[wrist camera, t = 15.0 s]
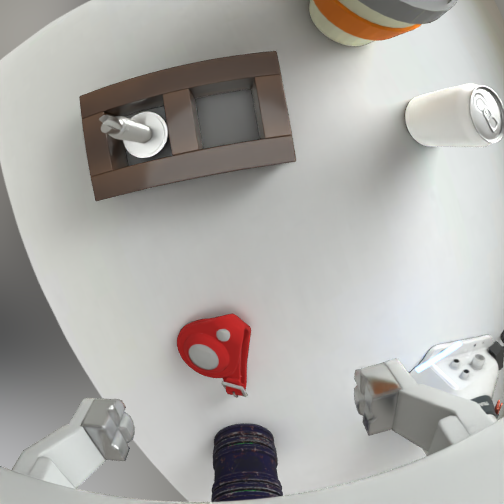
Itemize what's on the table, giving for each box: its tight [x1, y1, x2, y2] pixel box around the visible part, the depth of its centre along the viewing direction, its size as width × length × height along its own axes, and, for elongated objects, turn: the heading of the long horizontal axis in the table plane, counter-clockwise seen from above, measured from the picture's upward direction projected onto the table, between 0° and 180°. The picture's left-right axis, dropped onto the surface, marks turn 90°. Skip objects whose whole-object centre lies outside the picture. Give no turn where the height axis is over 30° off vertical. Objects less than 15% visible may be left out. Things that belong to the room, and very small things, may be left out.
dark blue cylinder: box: [212, 424, 283, 502], centre depth 37 cm, size 10×10×15 cm
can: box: [405, 84, 504, 147], centre depth 26 cm, size 6×6×12 cm
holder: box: [80, 51, 296, 201], centre depth 28 cm, size 11×20×5 cm, turn 99°
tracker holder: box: [177, 314, 251, 397], centre depth 37 cm, size 12×4×10 cm
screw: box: [99, 112, 168, 158], centre depth 24 cm, size 13×5×5 cm
